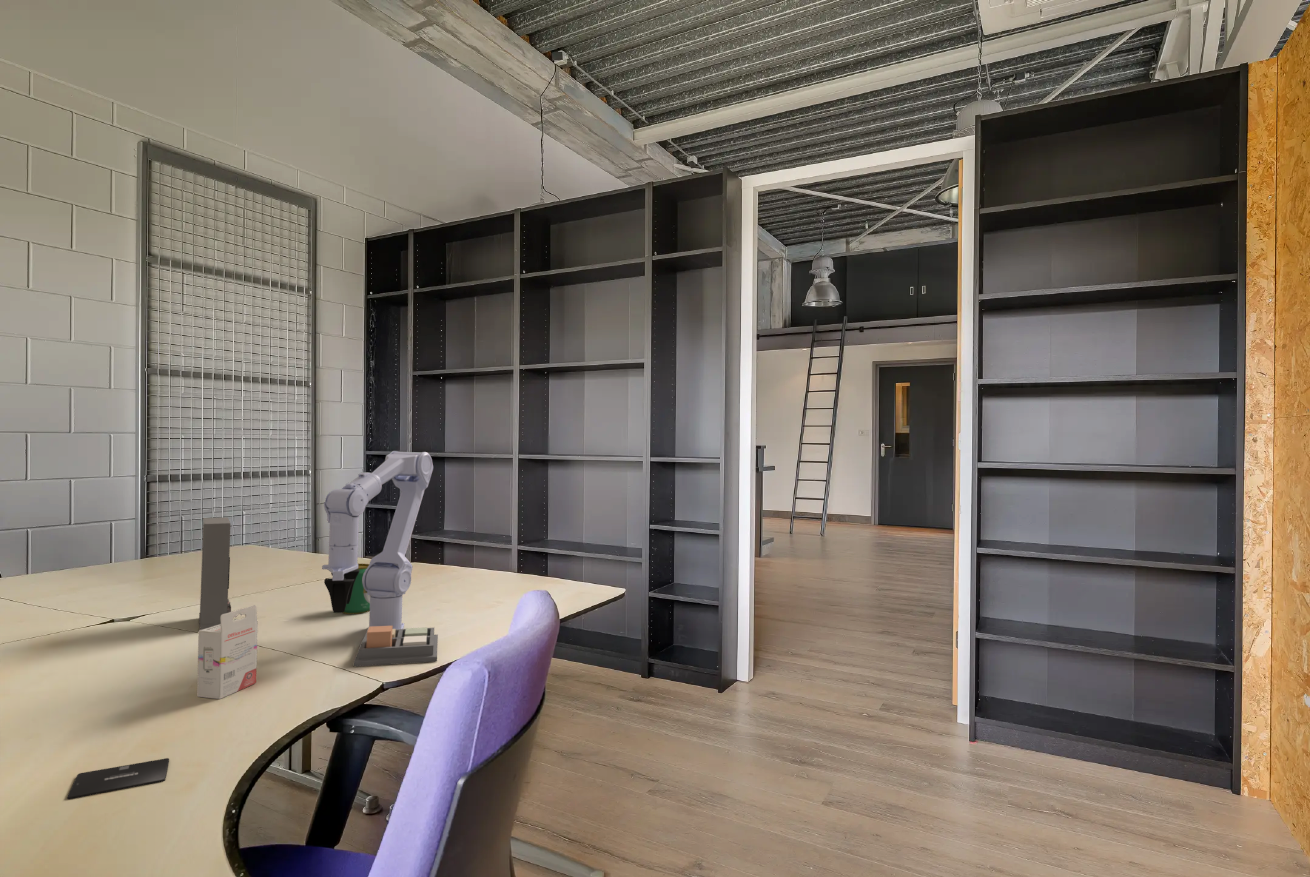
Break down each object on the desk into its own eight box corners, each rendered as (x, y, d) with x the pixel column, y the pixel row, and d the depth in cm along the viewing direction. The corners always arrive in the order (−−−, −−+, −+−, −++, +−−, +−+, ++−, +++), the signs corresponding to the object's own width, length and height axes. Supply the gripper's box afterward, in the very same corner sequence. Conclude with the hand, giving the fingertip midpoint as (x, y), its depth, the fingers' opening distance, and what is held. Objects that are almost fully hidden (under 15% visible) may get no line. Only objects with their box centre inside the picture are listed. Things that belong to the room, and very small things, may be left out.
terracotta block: (368, 650, 145) (369, 626, 145) (391, 648, 146) (392, 625, 146) (366, 656, 141) (366, 632, 141) (389, 655, 142) (390, 631, 142)
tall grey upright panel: (230, 628, 162) (234, 523, 162) (199, 631, 158) (203, 524, 159) (228, 615, 173) (231, 517, 174) (199, 618, 170) (202, 518, 170)
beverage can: (364, 615, 178) (366, 568, 178) (334, 614, 178) (335, 567, 178) (377, 607, 186) (378, 563, 186) (348, 606, 186) (349, 562, 186)
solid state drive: (77, 778, 91) (77, 773, 91) (169, 762, 96) (169, 757, 96) (66, 802, 85) (66, 797, 85) (164, 784, 90) (165, 779, 90)
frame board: (363, 642, 154) (363, 627, 154) (437, 638, 158) (438, 623, 158) (353, 666, 137) (354, 649, 137) (436, 661, 142) (437, 644, 142)
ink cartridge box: (234, 680, 128) (237, 602, 128) (257, 683, 127) (259, 604, 127) (194, 697, 119) (197, 612, 119) (218, 700, 118) (222, 615, 118)
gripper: (328, 540, 153) (326, 600, 153) (317, 550, 139) (314, 617, 139) (362, 539, 155) (360, 599, 155) (354, 549, 141) (352, 615, 141)
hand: (341, 607), depth 147 cm, fingers open, 7 cm apart
